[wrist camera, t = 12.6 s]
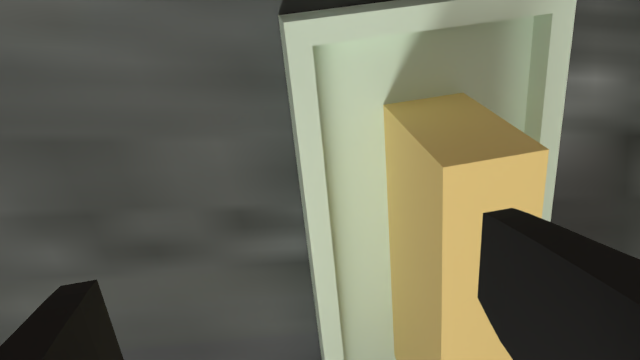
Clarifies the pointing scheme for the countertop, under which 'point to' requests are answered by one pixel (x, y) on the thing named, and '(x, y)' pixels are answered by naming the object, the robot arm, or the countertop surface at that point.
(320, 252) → the tray
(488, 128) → the tan rectangular block
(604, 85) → the countertop surface
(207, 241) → the countertop surface
